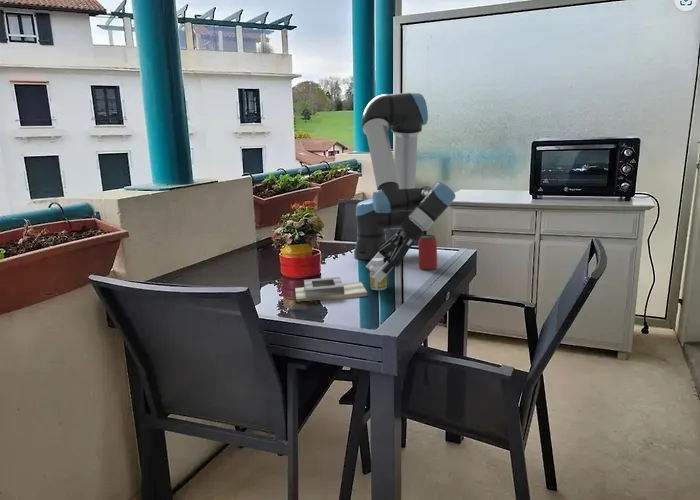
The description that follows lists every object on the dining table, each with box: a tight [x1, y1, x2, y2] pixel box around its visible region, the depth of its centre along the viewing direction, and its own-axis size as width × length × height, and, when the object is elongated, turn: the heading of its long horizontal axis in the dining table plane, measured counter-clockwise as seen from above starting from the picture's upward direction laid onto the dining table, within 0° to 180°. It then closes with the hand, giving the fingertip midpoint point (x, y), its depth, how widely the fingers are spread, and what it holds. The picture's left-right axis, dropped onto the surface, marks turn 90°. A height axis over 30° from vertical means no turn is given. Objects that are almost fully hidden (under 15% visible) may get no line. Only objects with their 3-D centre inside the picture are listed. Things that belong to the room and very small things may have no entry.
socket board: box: [294, 276, 368, 302], centre depth 162 cm, size 12×22×4 cm, turn 98°
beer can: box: [417, 234, 438, 271], centre depth 185 cm, size 7×7×12 cm
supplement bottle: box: [369, 258, 388, 291], centre depth 164 cm, size 5×5×10 cm
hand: (372, 274), depth 164 cm, fingers open, 13 cm apart
